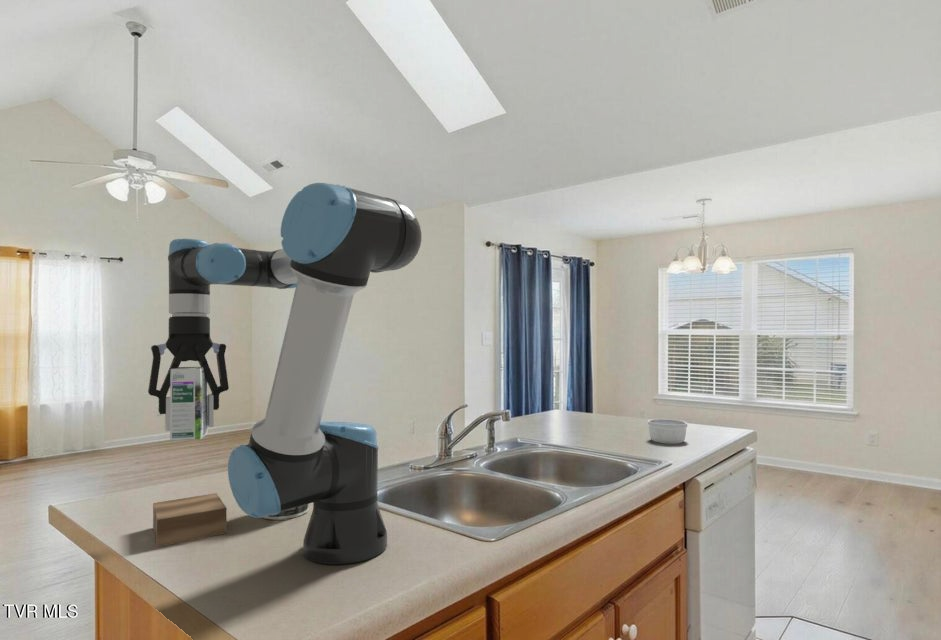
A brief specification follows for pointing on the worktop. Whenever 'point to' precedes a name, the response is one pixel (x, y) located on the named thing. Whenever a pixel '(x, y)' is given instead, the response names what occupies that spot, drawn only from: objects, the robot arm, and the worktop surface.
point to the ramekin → (667, 430)
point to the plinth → (188, 519)
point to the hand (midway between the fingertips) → (189, 427)
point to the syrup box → (188, 403)
